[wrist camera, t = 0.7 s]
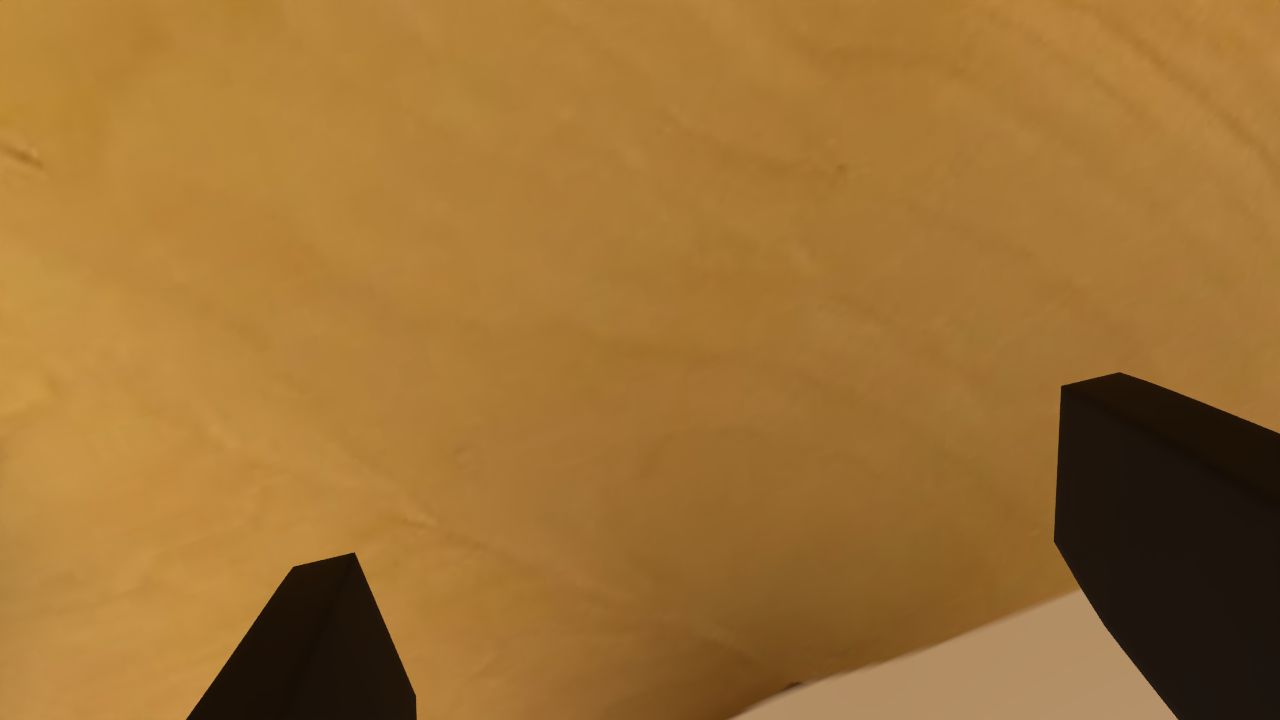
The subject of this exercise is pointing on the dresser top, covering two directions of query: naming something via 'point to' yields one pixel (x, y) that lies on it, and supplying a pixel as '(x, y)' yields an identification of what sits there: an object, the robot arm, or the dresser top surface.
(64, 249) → the dresser top surface
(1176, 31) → the dresser top surface
